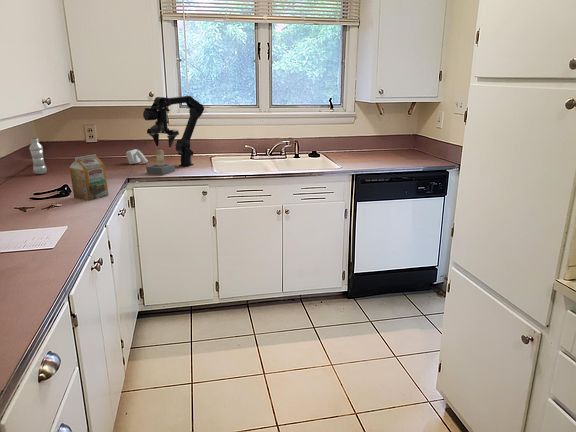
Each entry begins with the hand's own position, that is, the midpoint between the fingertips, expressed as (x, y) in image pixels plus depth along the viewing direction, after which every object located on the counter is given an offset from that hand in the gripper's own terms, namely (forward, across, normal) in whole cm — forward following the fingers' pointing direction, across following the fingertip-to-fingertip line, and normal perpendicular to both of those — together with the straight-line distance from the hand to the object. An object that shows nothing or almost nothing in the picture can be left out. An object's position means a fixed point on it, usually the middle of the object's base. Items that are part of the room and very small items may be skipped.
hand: (163, 146), depth 262 cm
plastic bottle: (+15, -55, -39) cm, 69 cm away
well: (+13, +4, -9) cm, 16 cm away
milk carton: (+15, +8, -64) cm, 66 cm away
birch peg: (+13, +4, -9) cm, 16 cm away
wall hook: (+14, -25, +7) cm, 29 cm away
